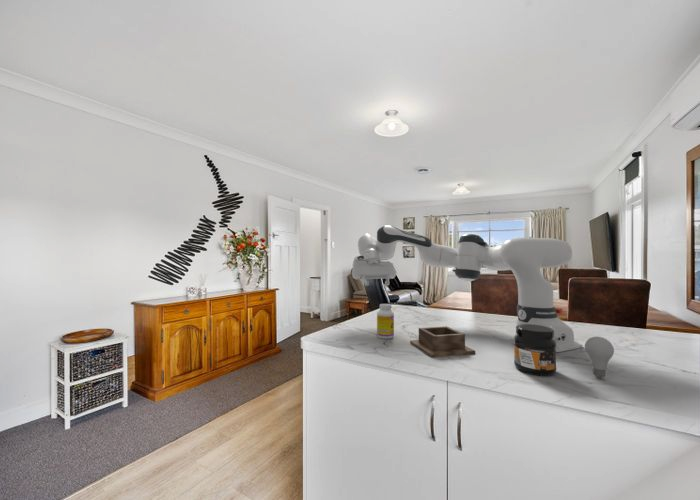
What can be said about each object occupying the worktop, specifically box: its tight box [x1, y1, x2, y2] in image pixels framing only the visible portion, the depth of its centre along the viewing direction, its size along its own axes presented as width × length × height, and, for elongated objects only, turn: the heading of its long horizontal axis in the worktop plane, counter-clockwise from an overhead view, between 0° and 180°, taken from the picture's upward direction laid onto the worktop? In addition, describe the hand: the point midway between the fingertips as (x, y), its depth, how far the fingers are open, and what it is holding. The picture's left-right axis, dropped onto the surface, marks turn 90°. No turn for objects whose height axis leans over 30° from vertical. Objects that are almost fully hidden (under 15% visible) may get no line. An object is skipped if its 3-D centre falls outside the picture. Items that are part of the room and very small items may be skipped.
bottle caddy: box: [409, 325, 476, 359], centre depth 109 cm, size 16×16×6 cm
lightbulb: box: [584, 336, 615, 379], centre depth 83 cm, size 6×6×11 cm
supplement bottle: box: [376, 303, 395, 340], centre depth 123 cm, size 7×7×13 cm
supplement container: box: [513, 324, 557, 377], centre depth 89 cm, size 10×10×12 cm
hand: (377, 284), depth 136 cm, fingers open, 8 cm apart
